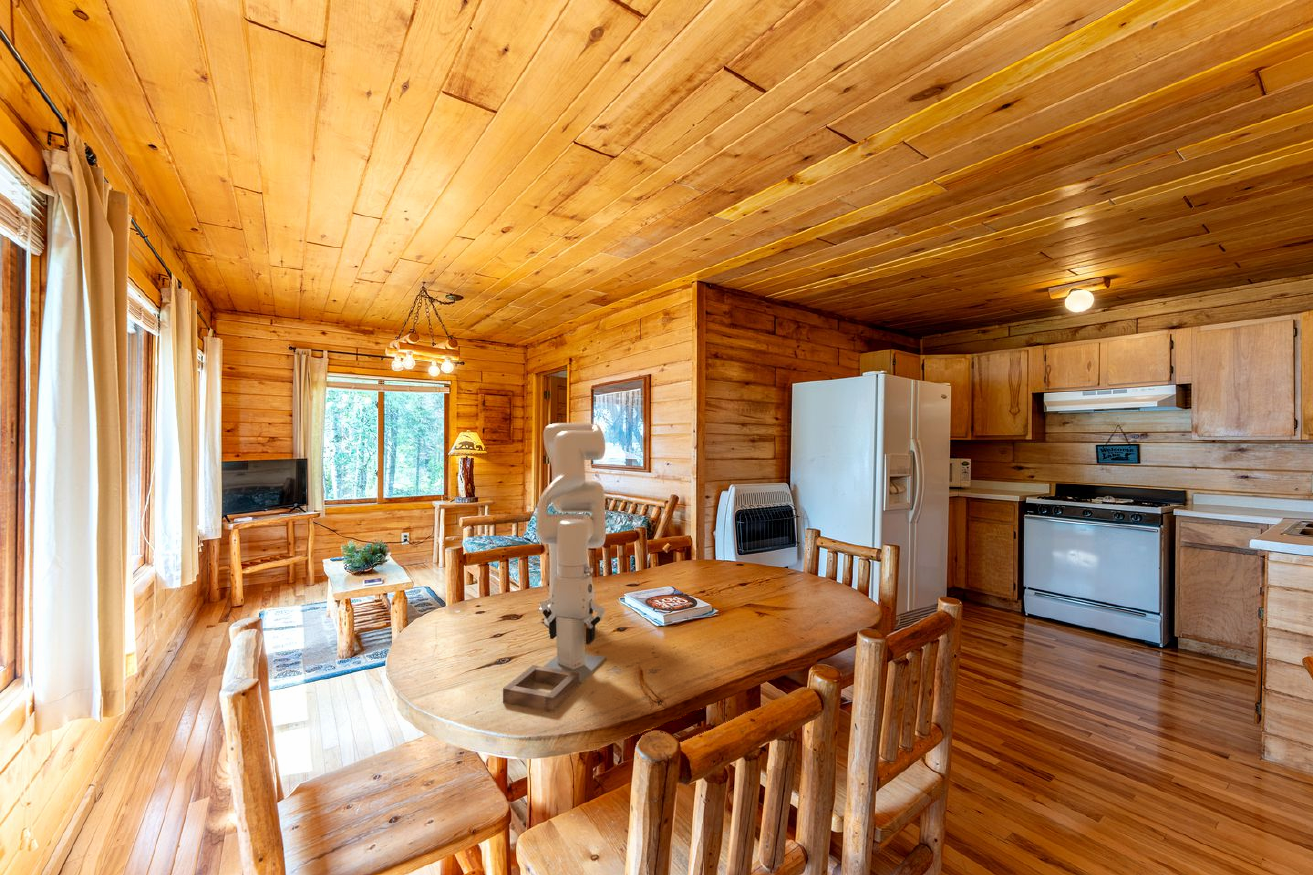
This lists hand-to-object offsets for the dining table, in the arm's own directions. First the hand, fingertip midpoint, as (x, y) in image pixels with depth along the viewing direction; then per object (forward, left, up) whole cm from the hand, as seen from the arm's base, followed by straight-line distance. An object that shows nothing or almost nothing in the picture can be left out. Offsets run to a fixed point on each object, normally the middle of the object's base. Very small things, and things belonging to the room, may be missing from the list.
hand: (571, 639), depth 132 cm
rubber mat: (0, 0, -7) cm, 7 cm away
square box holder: (0, -14, -7) cm, 16 cm away
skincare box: (0, 0, -6) cm, 6 cm away
